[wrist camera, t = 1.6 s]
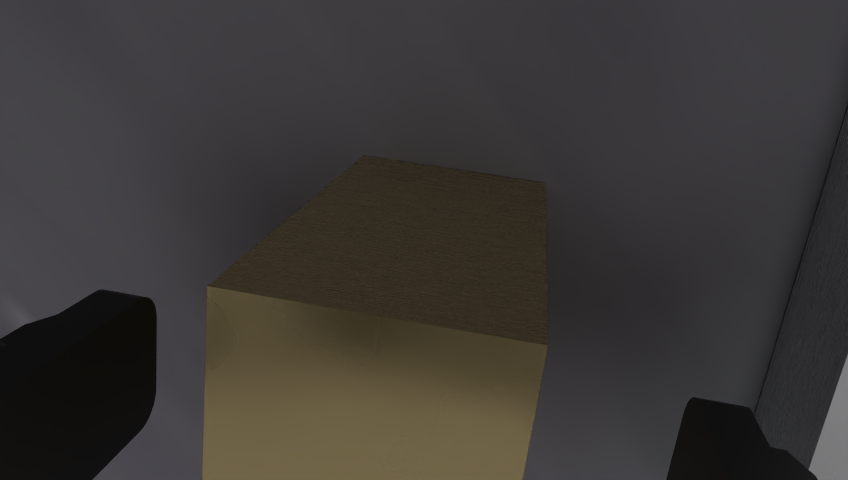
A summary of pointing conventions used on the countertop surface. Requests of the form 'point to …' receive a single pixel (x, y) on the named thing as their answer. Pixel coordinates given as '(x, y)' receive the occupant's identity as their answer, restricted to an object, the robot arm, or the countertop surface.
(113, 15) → the countertop surface
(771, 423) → the white slotted tray
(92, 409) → the robot arm
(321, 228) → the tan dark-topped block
